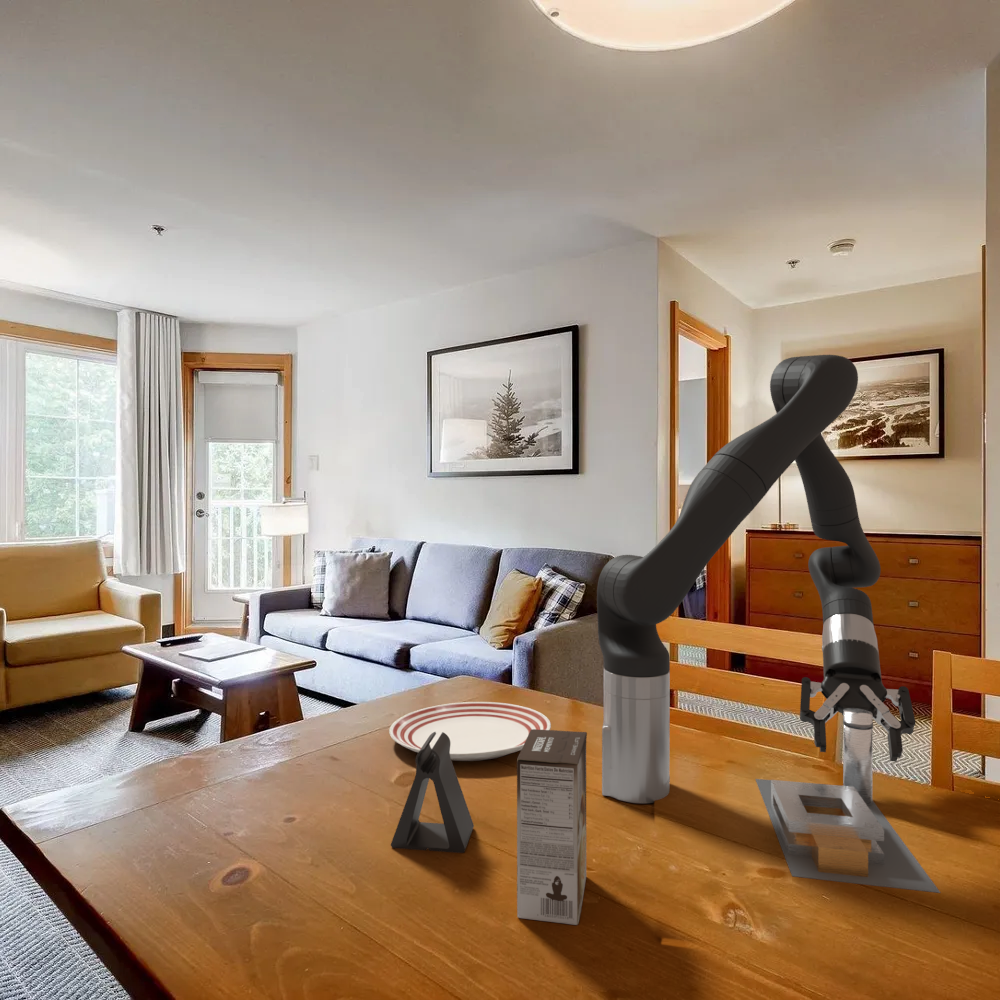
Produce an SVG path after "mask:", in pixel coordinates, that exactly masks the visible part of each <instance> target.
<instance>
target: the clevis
mask: <svg viewBox="0 0 1000 1000" xmlns="http://www.w3.org/2000/svg"><path fill="white" fill-rule="evenodd" d="M770 780H771V811H772V814H773V816H774V819H775V821H776V824H777V826H778V829H779V832H780V834H781V837H782V839H783V842H784V844H785V847H786V849H787V852H788V855H792V856H802V857H811V858H812V859H813V861H814V863H815V865H816V867H817V870H818V872H825V873H834V874H843V875H852V876H862V877H868V864H877V865H884V853H883V851H882V850H881V848H880V847H879V845H878V844H877V842H876V841H875V840H877V841H884V829H883V827H882V826H881V825H880V823H879V822H878V820H877V819H876V817H875V816H874V815H873V813H872V812H871V810H870V809H869V808H868V806H867V805H866V803H865V802H864V800H863V799H862V798H861V796H860V795H859V793H858V792H857V791H856V789H855V788H854V787H851V786H843V785H836V784H828V783H827V784H826V783H814V782H802V781H801V782H800V781H792V780H791V781H790V780H779V779H770Z"/></svg>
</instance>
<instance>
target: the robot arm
mask: <svg viewBox="0 0 1000 1000" xmlns="http://www.w3.org/2000/svg"><path fill="white" fill-rule="evenodd" d="M769 383H770V384H769V390H770V398H771V401H772V403H773V407H774V410H775V414H774V415H772V416H771V417H770V418H769V419H767V420H765V421H763V422H762V423H759V424H758V425H756V426H755V427H753V428H751V429H749V430H748V431H746V432H744V433H742V434H740V435H739V436H737V437H735V438H733V439H732V440H731V441H729V442H728V443H726V444H725V445H723V447H721V448H720V449H719V450H718V451H717V452H716V453H714V454H713V456H712V458H711V459H709V461H708V462H707V463H706V464H705V466H703V467H702V469H701V470H700V471H699V472H698V473H697V474H696V476H695V477H694V479H693V480H692V482H691V484H690V485H689V488H688V489H687V492H686V495H685V498H684V500H683V503H682V504H683V505H682V507H681V511H680V514H679V516H678V518H677V520H676V521H675V524H674V525H673V526H672V527H671V528H670V530H669V531H668V533H666V534H665V535H664V537H663V538H662V539H660V541H659V542H658V543H657V544H656V545H655V546H654V547H653V548H652V549H651V550H650V551H649V552H648V553H647V554H646V555H645V556H641V555H634V554H633V555H632V554H622V555H618V556H616V557H613V558H611V559H610V560H608V562H607V563H606V564H605V565H604V566H603V567H602V569H601V572H600V574H599V577H598V580H597V581H598V582H597V589H596V607H597V609H596V611H597V635H598V636H597V637H598V638H597V639H598V644H599V647H600V651H601V654H602V657H603V722H602V728H601V737H602V738H601V753H602V754H601V777H602V778H601V795H602V796H607V797H611V798H614V799H616V800H618V801H622V802H627V803H631V804H653V803H655V801H658V800H662V799H664V798H665V797H667V796H668V795H669V794H670V783H671V780H670V779H671V777H670V775H671V774H670V755H671V754H670V749H671V747H670V744H671V743H670V731H671V730H670V724H671V723H670V719H671V718H670V712H671V710H670V707H671V705H670V703H671V702H670V696H671V695H670V688H671V687H670V680H671V679H670V674H671V673H670V672H671V671H670V669H671V668H670V665H671V664H670V652H669V650H668V648H667V647H666V646H665V644H664V643H663V641H662V639H661V638H660V636H659V633H658V629H657V625H659V624H660V623H662V622H664V621H666V620H667V619H669V617H670V616H672V614H673V613H674V612H675V611H676V610H677V608H679V606H680V605H681V603H682V602H683V600H684V599H685V598H686V596H687V595H688V593H689V591H690V590H691V588H692V587H693V586H694V584H695V582H696V581H697V580H698V578H699V576H700V575H701V573H702V572H703V571H704V569H705V568H706V566H707V565H708V563H709V562H710V561H711V559H712V558H713V557H714V555H715V554H716V553H717V552H718V551H719V550H720V548H721V547H722V546H723V545H724V544H725V543H726V542H727V540H728V539H729V538H730V536H731V535H732V534H733V533H734V532H735V530H736V529H737V528H738V527H739V526H740V524H741V523H742V522H743V521H744V520H745V519H746V518H747V517H748V516H749V514H751V513H752V511H753V510H754V509H755V508H756V507H757V505H759V503H760V502H761V501H762V499H763V498H764V497H765V496H766V495H767V493H768V492H769V491H770V489H771V488H772V486H774V485H775V483H776V482H777V481H778V480H779V478H780V477H781V476H782V475H783V474H784V473H785V472H786V471H787V470H788V468H789V467H791V465H792V464H793V462H794V461H795V464H796V466H797V469H798V472H799V474H800V477H801V481H802V482H801V483H802V484H803V488H804V493H805V499H806V503H807V508H808V512H809V513H808V514H809V518H810V524H811V528H812V531H813V533H814V535H815V536H816V537H818V538H819V539H822V540H826V541H830V542H831V541H832V542H839V543H843V544H846V545H840V546H839V545H838V546H829V547H828V546H827V547H821V548H820V547H819V548H818V549H815V550H813V552H812V553H811V555H809V559H808V564H807V565H808V571H809V575H810V577H811V580H812V581H813V584H814V586H815V588H816V590H817V592H818V595H819V599H820V601H821V602H820V603H821V608H822V626H823V627H822V635H821V642H822V643H821V644H822V645H821V651H822V662H823V667H822V668H823V680H822V681H821V682H819V681H817V682H816V681H811V679H810V678H809V677H807V676H804V677H802V678H801V684H800V685H801V690H800V708H799V720H800V721H801V722H803V723H806V722H807V723H809V724H811V725H812V726H813V737H814V740H813V741H814V742H813V744H814V746H815V747H816V748H819V752H820V753H827V735H826V733H827V732H826V731H827V728H826V723H827V722H828V721H829V720H832V718H833V717H834V716H835V715H836V714H837V713H840V714H841V715H842V716H843V710H844V709H846V708H857V709H863V710H867V711H870V712H871V713H872V714H873V721H875V723H877V725H879V726H881V727H882V728H883V729H884V730H885V731H886V733H887V743H888V752H889V753H888V754H889V761H890V762H895V763H896V762H897V761H898V759H901V756H902V755H903V750H904V747H903V739H902V735H904V734H907V735H912V734H913V733H914V730H915V729H914V728H915V726H916V719H915V718H916V717H915V713H914V708H913V705H912V700H911V693H910V692H909V688H908V687H907V686H900V687H898V689H894V688H886V687H885V686H884V684H883V681H882V680H883V679H882V672H881V663H880V653H879V646H878V645H879V643H878V637H877V634H876V630H875V625H874V615H873V607H872V606H873V605H872V602H871V598H870V597H869V596H868V594H867V593H865V592H864V591H863V590H861V589H858V588H867V587H872V586H873V585H875V584H876V583H877V582H878V580H879V579H880V576H881V572H882V571H881V564H880V561H879V558H878V556H877V553H876V552H875V550H874V549H873V547H872V545H871V543H870V542H869V540H868V538H867V536H866V534H865V532H864V530H863V527H862V524H861V522H860V517H859V511H858V505H857V500H856V495H855V494H856V493H855V491H854V487H853V484H852V481H851V479H850V477H849V475H848V474H847V472H846V470H845V468H844V467H843V466H842V464H841V463H840V461H839V460H838V458H837V457H836V456H835V454H834V453H833V452H832V450H831V448H830V447H829V445H828V443H827V442H826V441H825V438H824V437H823V435H822V433H823V432H824V430H826V429H827V428H828V427H829V426H830V425H832V423H834V421H836V420H837V419H838V418H839V416H840V415H841V414H843V413H844V411H845V410H846V409H847V408H848V407H849V405H850V403H851V402H852V401H853V398H854V397H855V394H856V392H857V389H858V384H859V374H858V370H857V367H856V365H855V364H854V362H853V361H851V360H850V359H849V358H847V357H845V356H842V355H836V354H818V355H802V356H801V355H800V356H794V357H793V356H792V357H788V358H785V359H783V360H782V361H780V362H779V363H778V364H777V365H776V366H775V368H774V370H773V371H772V374H771V377H770V382H769ZM818 692H821V694H822V695H823V697H824V698H825V699H826V700H824V701H823V703H822V705H821V706H820V707H819V708H818V709H817V710H816V711H814V710H811V706H810V705H811V698H815V697H816V695H817V694H818ZM886 699H889V700H891V702H892V704H893V705H894V706H895V707H898V711H899V717H900V720H899V719H898V718H896V717H895V716H894V715H893V714H892V713H891V712H890V709H889V707H888V706H887V705H885V704H884V702H885V701H886Z"/></svg>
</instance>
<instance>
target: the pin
mask: <svg viewBox="0 0 1000 1000" xmlns="http://www.w3.org/2000/svg"><path fill="white" fill-rule="evenodd" d="M842 716H843V718H842V727H843V729H842V731H843V732H842V733H843V736H842V739H843V741H842V743H843V744H842V745H843V748H842V749H843V750H842V753H843V755H842V758H843V761H842V763H843V765H842V767H843V769H842V770H843V771H842V772H843V775H842V776H843V777H842V781H843V783H842V784H843V785H842V786H851V787H854V788H855V789H856V791H857V792H858V793H859V795H860V796H861V798H862V799H863V800H864V802H865V803H866V805H867V806H870V805H872V800H873V742H874V741H873V738H874V737H873V735H874V734H873V731H874V730H873V729H874V722H873V721H874V719H873V714H872V713H871V712H870V711H867V710H863V709H857V708H846V709H844V710H843V715H842Z"/></svg>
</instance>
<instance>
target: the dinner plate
mask: <svg viewBox="0 0 1000 1000" xmlns="http://www.w3.org/2000/svg"><path fill="white" fill-rule="evenodd" d="M551 726H552V723H551V721H550V718H548V717H547V716H546V715H544V714H543V713H542V712H540V711H537V710H535V709H533V708H530V707H527V706H521V705H518V704H512V703H505V702H494V701H465V702H463V701H462V702H451V703H444V704H438V705H433V706H428V707H424V708H420V709H418V710H417V709H416V710H414V711H410V712H409V713H406V714H405V715H403V716H401V717H399V718H397V719H396V720H395V721H394V722H392V724H391V725H390V727H389V730H388V732H389V735H390V737H391V739H392V740H393V741H394V742H395V743H397V744H399V745H400V746H402V747H404V748H406V749H408V750H409V751H412V752H415V753H418V752H419V751H420V749H421V748H422V746H423V745H424V743H425V742H426V740H427V739H428V737H429V736H430V735H431V734H432V733H433V732H436V735H435V736H434V738H433V739H432V741H431V742H430V747H431V749H432V748H433V746H434V745H435V743H436V742H437V740H438V738H439V737H440V735H441V734H442V732H443V733H445V734H446V735H447V736H448V737H449V739H450V758H451V761H457V762H474V761H475V762H476V761H486V760H491V759H497V758H501V757H504V756H508V755H510V754H513V753H516V752H519V751H520V752H521V750H522V748H523V746H524V744H525V741H526V739H527V737H528V735H529V733H530V731H531V730H532V729H537V730H551V729H552V727H551Z"/></svg>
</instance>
